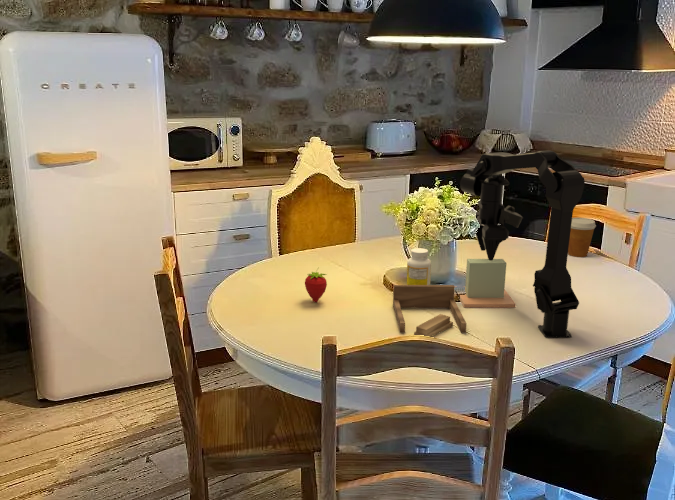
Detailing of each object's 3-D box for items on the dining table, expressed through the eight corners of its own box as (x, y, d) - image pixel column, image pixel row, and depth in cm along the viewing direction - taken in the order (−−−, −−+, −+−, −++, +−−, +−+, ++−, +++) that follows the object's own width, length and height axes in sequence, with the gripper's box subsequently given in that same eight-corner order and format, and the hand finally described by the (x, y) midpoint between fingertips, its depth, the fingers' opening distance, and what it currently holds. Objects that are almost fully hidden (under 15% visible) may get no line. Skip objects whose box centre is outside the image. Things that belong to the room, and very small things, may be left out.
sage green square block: (503, 297, 186) (506, 263, 184) (467, 297, 186) (469, 263, 183) (500, 292, 190) (502, 258, 188) (464, 292, 190) (467, 258, 187)
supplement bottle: (414, 287, 197) (416, 245, 193) (434, 293, 193) (436, 249, 189) (401, 293, 192) (403, 250, 188) (421, 299, 188) (423, 255, 184)
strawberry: (322, 296, 189) (322, 262, 186) (330, 305, 182) (330, 270, 180) (301, 298, 187) (301, 264, 185) (309, 307, 181) (309, 272, 178)
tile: (515, 307, 182) (515, 304, 182) (463, 307, 182) (464, 304, 182) (502, 290, 195) (502, 286, 195) (454, 289, 195) (454, 286, 195)
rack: (465, 332, 165) (467, 309, 164) (400, 332, 165) (400, 309, 163) (452, 305, 183) (453, 285, 181) (392, 305, 182) (393, 284, 181)
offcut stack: (453, 327, 169) (454, 316, 168) (424, 341, 161) (425, 330, 160) (441, 323, 172) (442, 312, 171) (412, 337, 163) (413, 326, 162)
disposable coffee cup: (557, 251, 234) (560, 218, 230) (580, 249, 236) (584, 216, 233) (574, 259, 225) (578, 224, 222) (598, 257, 228) (602, 223, 224)
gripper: (531, 207, 172) (525, 265, 176) (511, 192, 190) (507, 245, 194) (487, 207, 172) (483, 265, 176) (472, 192, 190) (468, 245, 194)
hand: (486, 255), depth 185 cm, fingers open, 9 cm apart
